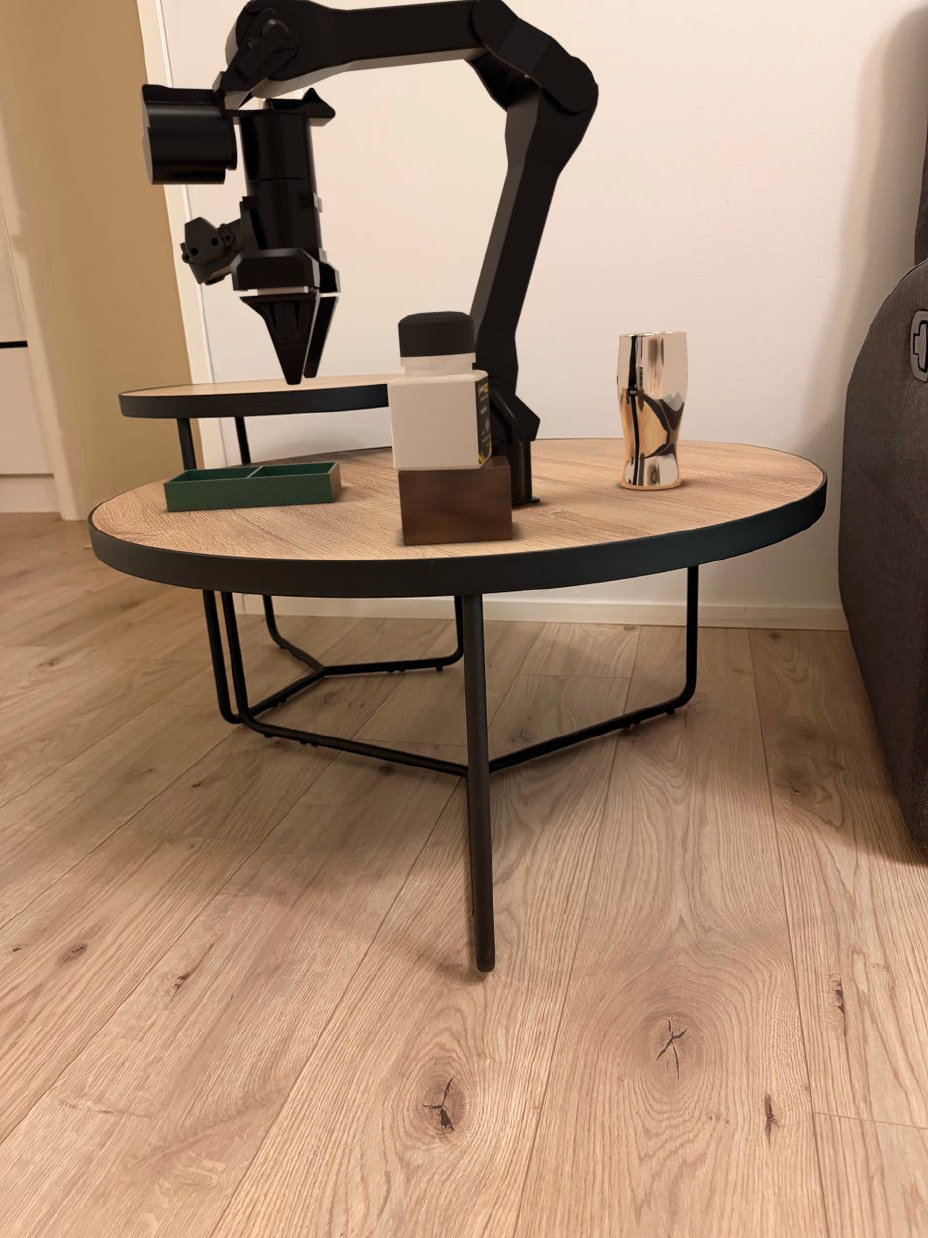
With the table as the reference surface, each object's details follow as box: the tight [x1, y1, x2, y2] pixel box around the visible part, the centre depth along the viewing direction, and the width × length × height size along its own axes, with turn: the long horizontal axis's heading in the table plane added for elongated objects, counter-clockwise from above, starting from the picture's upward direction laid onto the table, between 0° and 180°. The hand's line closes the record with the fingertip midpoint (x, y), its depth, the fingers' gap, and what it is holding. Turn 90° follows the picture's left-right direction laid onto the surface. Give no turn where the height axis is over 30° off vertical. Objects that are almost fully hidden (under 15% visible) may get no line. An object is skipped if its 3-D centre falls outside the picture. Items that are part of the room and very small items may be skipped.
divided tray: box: [163, 461, 342, 513], centre depth 99 cm, size 17×9×3 cm, turn 91°
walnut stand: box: [397, 456, 514, 546], centre depth 77 cm, size 9×6×6 cm, turn 91°
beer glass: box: [616, 330, 689, 491], centre depth 93 cm, size 7×7×15 cm
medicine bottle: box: [387, 310, 491, 472], centre depth 74 cm, size 7×7×12 cm
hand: (302, 381), depth 80 cm, fingers open, 9 cm apart
